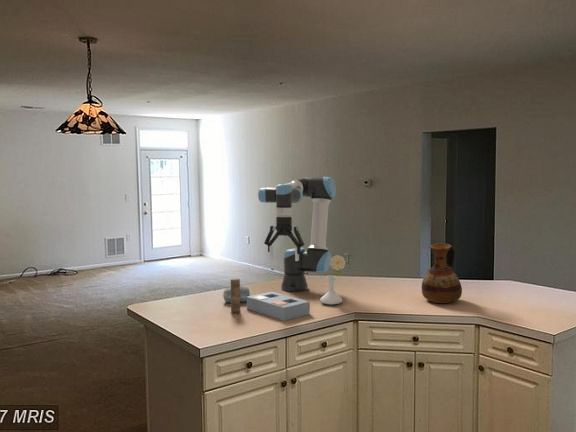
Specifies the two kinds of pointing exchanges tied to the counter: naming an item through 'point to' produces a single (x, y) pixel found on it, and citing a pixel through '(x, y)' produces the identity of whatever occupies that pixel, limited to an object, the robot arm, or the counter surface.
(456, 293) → the ceramic pitcher
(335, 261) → the flower in vase
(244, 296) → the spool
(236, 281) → the peg
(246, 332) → the counter surface
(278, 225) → the robot arm
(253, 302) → the socket block
